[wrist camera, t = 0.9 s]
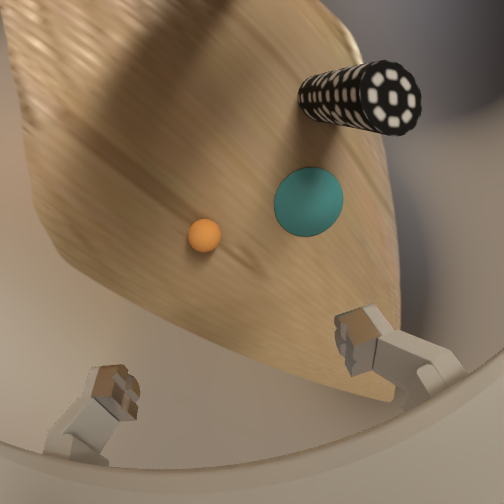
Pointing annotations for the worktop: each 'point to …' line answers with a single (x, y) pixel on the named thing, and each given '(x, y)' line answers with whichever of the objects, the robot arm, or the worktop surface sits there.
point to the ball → (204, 235)
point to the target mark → (308, 201)
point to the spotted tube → (364, 98)
